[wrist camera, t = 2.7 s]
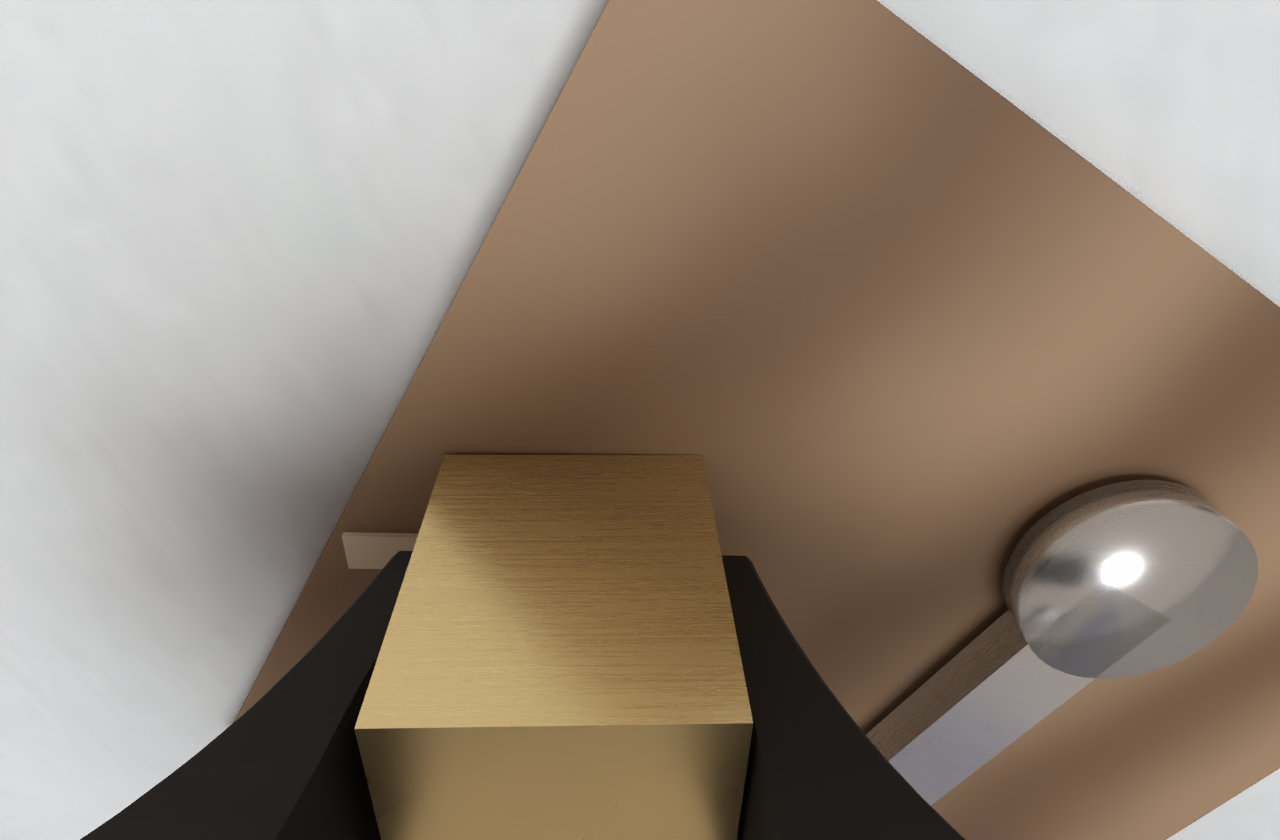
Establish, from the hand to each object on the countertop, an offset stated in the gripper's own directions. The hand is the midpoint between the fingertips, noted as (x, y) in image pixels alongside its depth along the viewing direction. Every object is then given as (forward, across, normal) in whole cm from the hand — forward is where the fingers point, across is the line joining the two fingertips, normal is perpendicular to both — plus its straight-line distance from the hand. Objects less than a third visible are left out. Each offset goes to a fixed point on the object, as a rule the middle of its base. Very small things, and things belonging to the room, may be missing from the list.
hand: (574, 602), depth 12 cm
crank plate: (+2, -5, +3) cm, 6 cm away
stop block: (+1, 0, 0) cm, 1 cm away
